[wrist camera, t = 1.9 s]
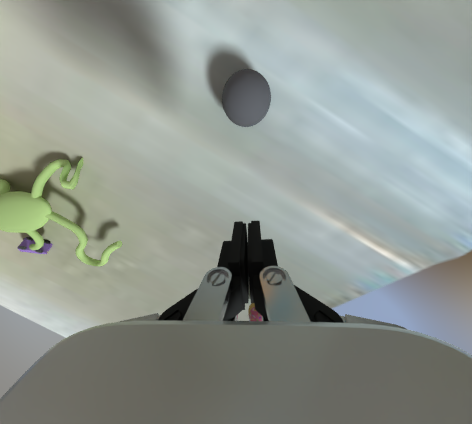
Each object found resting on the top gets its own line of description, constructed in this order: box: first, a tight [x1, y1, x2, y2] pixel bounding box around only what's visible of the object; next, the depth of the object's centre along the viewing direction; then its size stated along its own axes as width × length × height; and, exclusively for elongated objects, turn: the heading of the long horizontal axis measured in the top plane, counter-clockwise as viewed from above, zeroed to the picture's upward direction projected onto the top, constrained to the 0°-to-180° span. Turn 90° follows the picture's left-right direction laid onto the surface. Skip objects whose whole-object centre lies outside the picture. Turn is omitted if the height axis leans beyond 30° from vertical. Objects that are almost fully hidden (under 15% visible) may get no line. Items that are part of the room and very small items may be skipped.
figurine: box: [0, 158, 122, 266], centre depth 31 cm, size 18×27×6 cm
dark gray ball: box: [222, 69, 271, 127], centre depth 20 cm, size 6×6×6 cm
